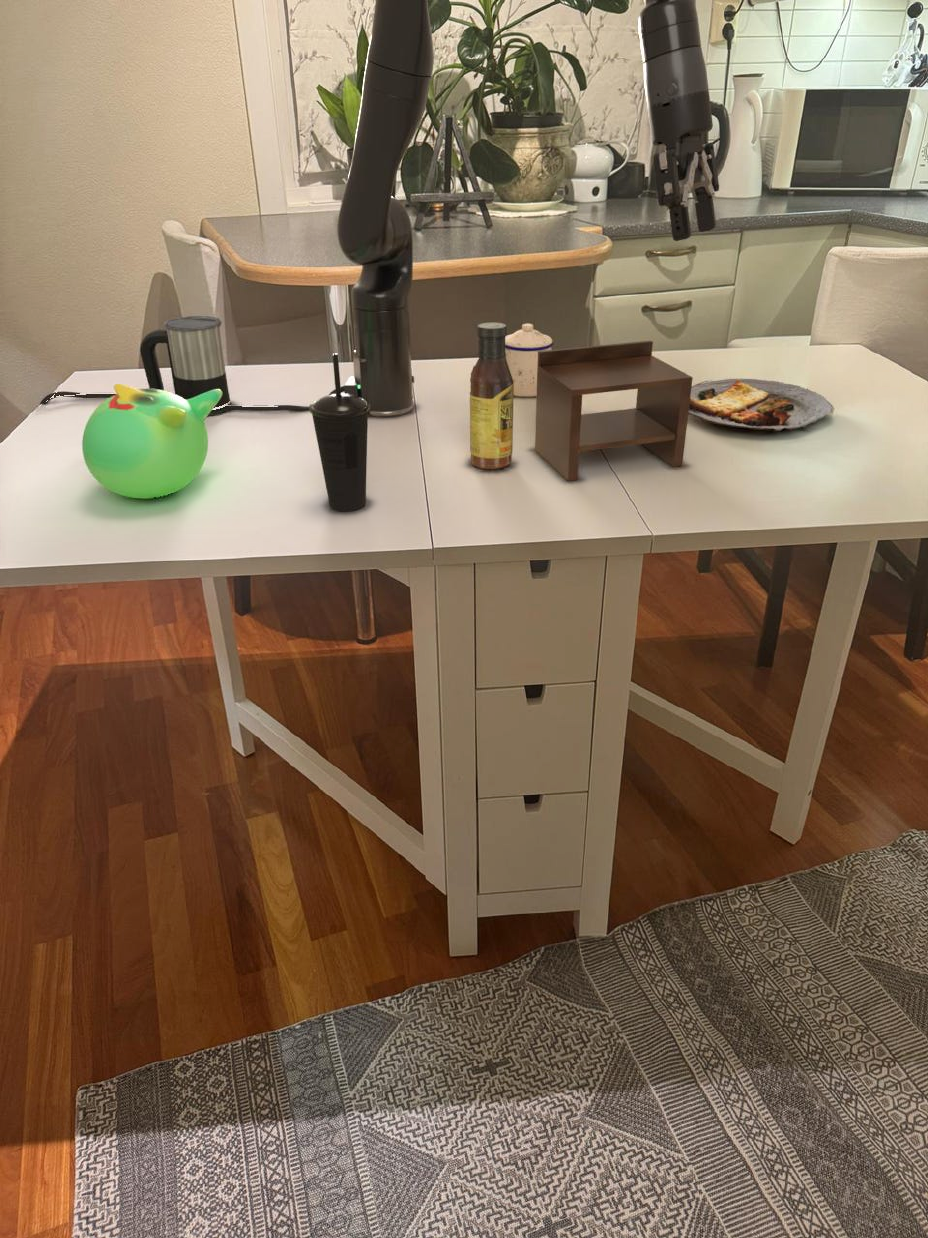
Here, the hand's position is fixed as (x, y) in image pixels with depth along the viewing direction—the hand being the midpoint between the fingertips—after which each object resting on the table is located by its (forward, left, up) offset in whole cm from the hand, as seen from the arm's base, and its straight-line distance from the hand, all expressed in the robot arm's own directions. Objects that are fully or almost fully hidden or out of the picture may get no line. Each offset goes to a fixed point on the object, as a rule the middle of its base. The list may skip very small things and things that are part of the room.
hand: (695, 234), depth 119 cm
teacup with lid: (-10, +39, -31) cm, 51 cm away
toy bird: (-73, +12, -31) cm, 80 cm away
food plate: (+22, +14, -31) cm, 41 cm away
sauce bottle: (-26, +7, -31) cm, 41 cm away
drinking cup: (-49, -1, -31) cm, 58 cm away
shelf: (-9, +4, -31) cm, 32 cm away
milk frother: (-67, +44, -31) cm, 86 cm away
